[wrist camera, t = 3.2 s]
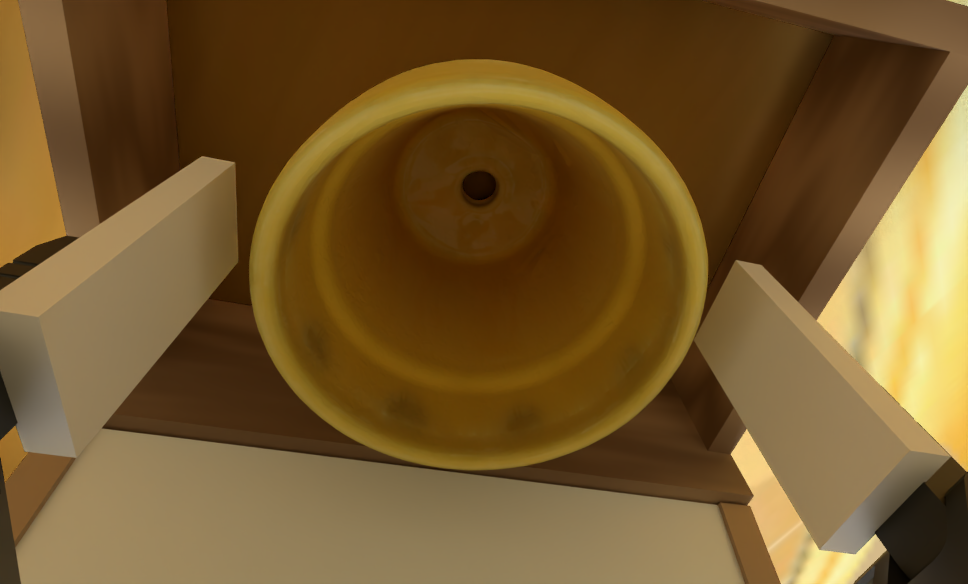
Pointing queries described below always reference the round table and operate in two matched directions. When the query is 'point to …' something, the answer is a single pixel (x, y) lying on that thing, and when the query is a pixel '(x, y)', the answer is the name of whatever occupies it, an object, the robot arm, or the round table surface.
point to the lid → (349, 523)
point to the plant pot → (478, 268)
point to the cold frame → (759, 240)
